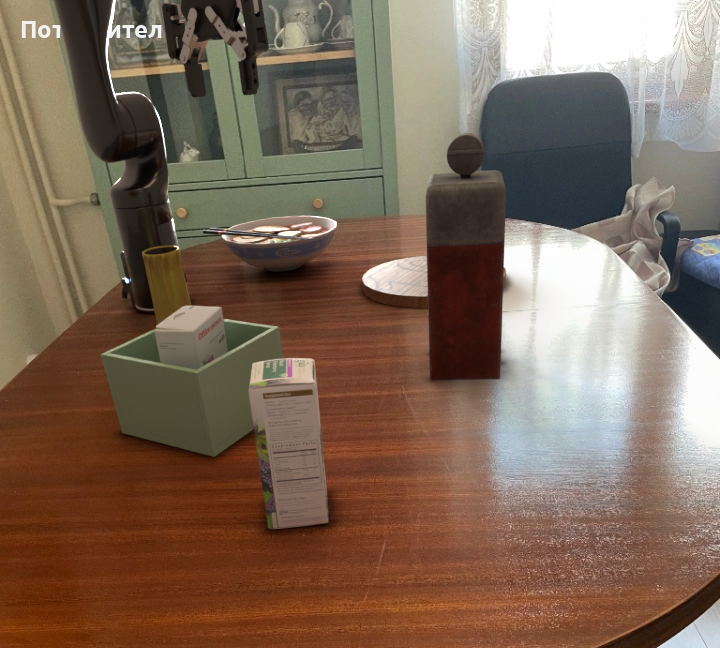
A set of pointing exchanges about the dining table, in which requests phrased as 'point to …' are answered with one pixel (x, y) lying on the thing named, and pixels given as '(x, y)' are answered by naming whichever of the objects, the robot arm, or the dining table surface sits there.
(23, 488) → the dining table surface
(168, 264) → the vase
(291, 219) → the ramen bowl
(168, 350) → the ink box
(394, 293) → the trivet
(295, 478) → the syrup box
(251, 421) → the waste bin
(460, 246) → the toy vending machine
